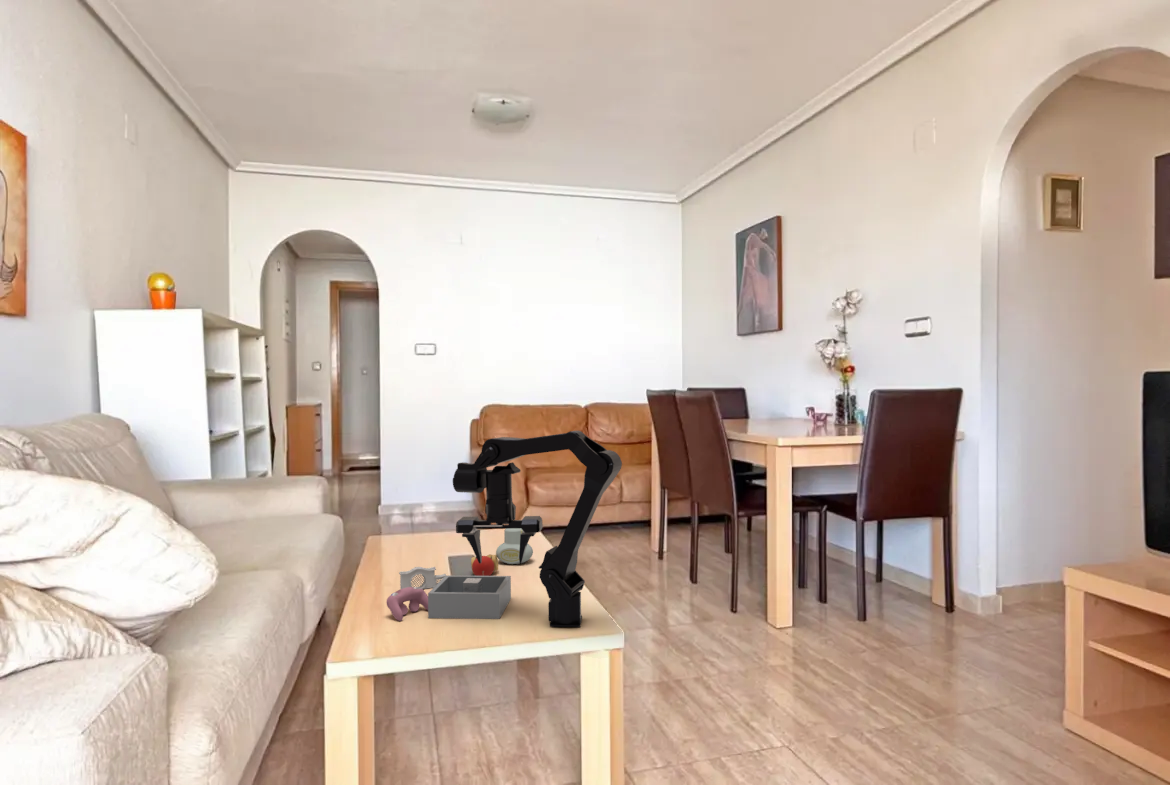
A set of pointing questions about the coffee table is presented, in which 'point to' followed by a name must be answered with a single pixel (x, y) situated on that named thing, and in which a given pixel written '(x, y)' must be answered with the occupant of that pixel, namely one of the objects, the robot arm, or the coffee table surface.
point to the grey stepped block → (472, 585)
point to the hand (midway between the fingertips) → (500, 562)
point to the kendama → (484, 565)
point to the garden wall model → (428, 575)
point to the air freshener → (512, 547)
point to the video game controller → (403, 595)
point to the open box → (469, 598)
